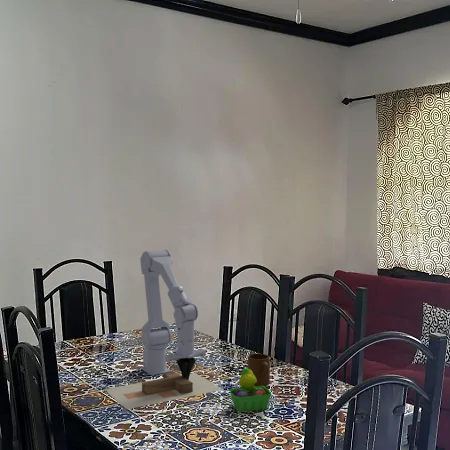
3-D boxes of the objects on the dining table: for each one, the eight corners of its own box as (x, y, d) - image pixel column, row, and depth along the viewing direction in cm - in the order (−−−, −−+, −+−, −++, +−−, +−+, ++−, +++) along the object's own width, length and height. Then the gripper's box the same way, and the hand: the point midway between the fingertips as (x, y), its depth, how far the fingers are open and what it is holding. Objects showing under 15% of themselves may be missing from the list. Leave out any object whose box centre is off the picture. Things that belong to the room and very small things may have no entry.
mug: (277, 390, 188) (278, 362, 187) (256, 392, 185) (256, 364, 185) (265, 379, 199) (265, 352, 199) (244, 380, 197) (244, 354, 196)
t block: (136, 386, 190) (136, 377, 190) (173, 379, 197) (173, 371, 197) (153, 399, 178) (153, 390, 178) (192, 391, 185) (192, 382, 185)
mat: (104, 390, 187) (104, 389, 187) (194, 374, 205) (194, 372, 205) (126, 410, 170) (126, 409, 170) (223, 390, 188) (223, 389, 188)
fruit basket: (235, 414, 167) (236, 376, 167) (227, 403, 176) (227, 367, 175) (272, 410, 170) (272, 373, 170) (262, 400, 179) (262, 365, 178)
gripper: (171, 345, 184) (171, 387, 185) (210, 339, 191) (210, 379, 192) (162, 340, 190) (162, 380, 191) (200, 335, 197) (199, 373, 198)
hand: (185, 379), depth 192 cm, fingers closed
